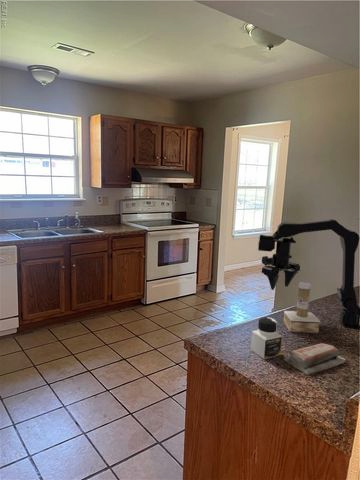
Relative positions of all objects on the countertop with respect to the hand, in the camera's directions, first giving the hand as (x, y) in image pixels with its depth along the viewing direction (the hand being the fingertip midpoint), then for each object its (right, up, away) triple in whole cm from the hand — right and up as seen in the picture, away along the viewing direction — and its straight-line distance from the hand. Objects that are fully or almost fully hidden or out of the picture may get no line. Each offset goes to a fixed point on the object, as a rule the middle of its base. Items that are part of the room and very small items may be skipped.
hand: (279, 288), depth 147 cm
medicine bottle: (-14, -18, -30) cm, 37 cm away
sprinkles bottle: (+7, -10, -9) cm, 15 cm away
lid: (+6, -11, -9) cm, 15 cm away
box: (+6, -15, -8) cm, 18 cm away
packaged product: (+2, -20, -34) cm, 40 cm away
